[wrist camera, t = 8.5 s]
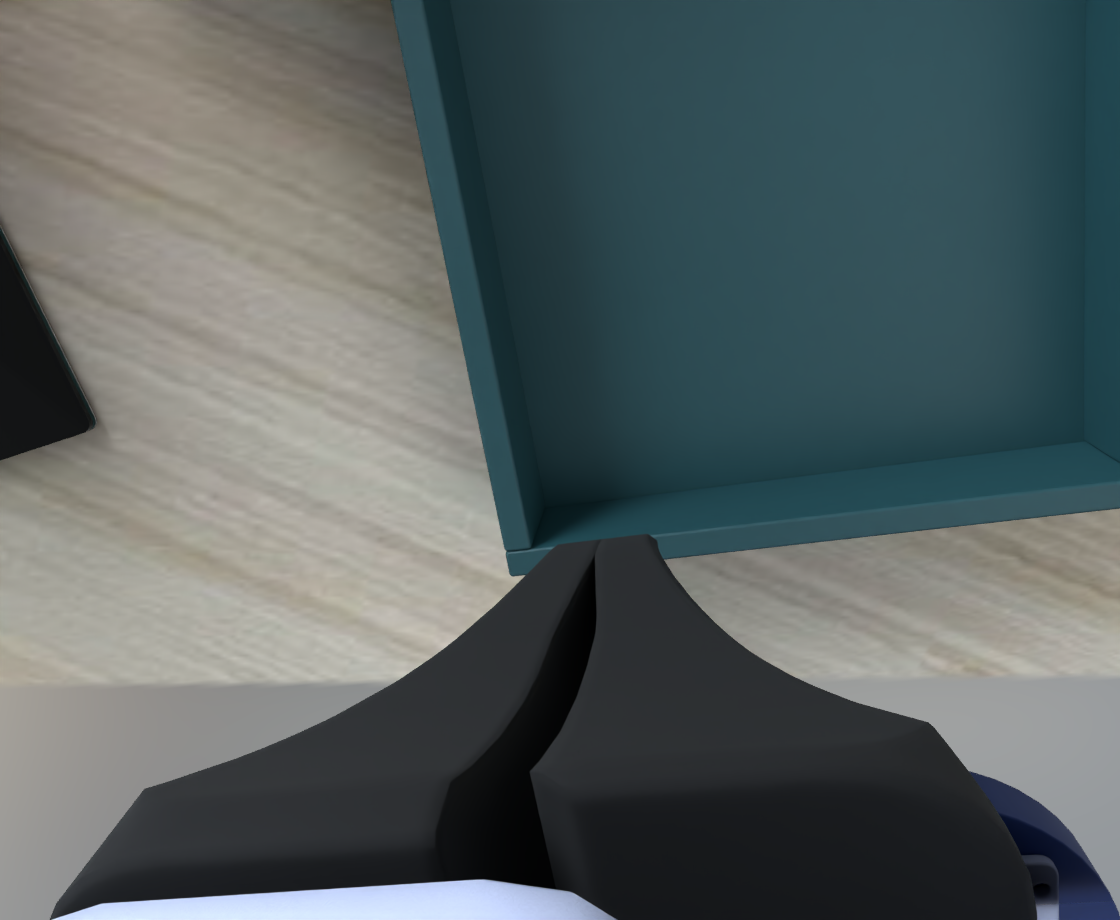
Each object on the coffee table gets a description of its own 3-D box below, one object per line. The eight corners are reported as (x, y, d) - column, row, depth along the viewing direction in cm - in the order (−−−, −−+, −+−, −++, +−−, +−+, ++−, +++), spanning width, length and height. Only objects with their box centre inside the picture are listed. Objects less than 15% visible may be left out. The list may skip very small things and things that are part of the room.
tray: (1101, 455, 20) (1175, 503, 17) (529, 524, 22) (509, 578, 19) (1110, -439, 15) (1215, -580, 12) (378, -242, 17) (322, -325, 14)
